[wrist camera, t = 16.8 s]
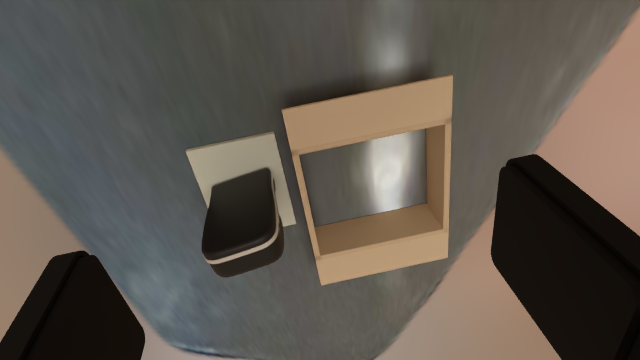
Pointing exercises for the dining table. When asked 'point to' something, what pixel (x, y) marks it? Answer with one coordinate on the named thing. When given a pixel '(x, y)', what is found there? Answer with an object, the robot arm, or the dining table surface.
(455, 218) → the dining table surface
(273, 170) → the mat
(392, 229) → the carton
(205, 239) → the battery charger
